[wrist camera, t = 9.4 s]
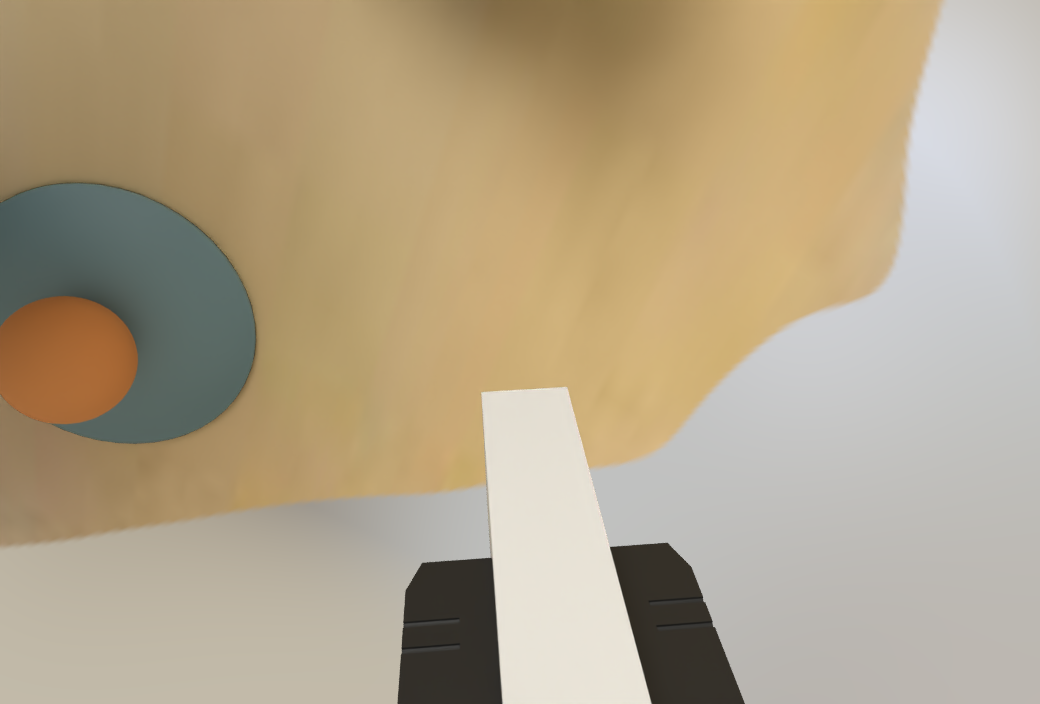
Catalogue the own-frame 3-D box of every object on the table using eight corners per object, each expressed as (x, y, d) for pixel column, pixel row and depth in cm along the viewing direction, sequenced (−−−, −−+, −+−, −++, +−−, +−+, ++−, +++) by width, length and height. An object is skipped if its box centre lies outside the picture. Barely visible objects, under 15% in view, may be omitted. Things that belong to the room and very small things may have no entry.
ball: (184, 368, 36) (95, 358, 38) (125, 273, 32) (30, 267, 34) (105, 458, 32) (10, 442, 34) (29, 362, 29) (-73, 350, 31)
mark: (-23, 427, 38) (-25, 430, 37) (-69, 161, 32) (-71, 163, 32) (254, 452, 39) (253, 455, 39) (257, 205, 34) (256, 206, 33)
